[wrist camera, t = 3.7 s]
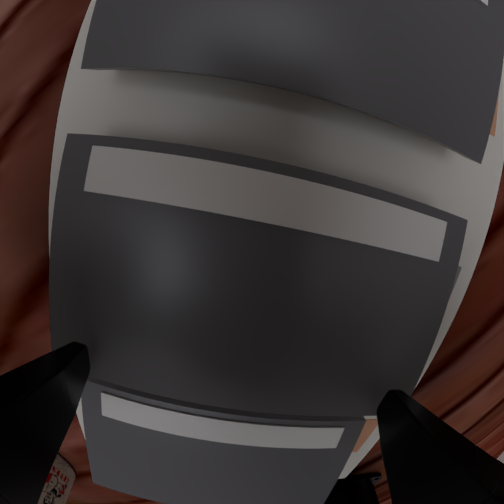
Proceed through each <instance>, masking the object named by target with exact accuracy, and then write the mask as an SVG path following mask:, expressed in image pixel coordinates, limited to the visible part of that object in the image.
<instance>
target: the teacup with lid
mask: <svg viewBox="0 0 504 504" xmlns="http://www.w3.org/2000/svg"><path fill="white" fill-rule="evenodd" d="M74 480H75V473H74V470H73V469H72V467H71V466H70V465H69V464H68V463H67V462H66V461H65V460H64V459H63V458H62V457H61V456H60V455H59V454H57V456H56V458H55V461H54V463H53V465H52V468H51V470H50V473H49V475H48V478H47V480H46V483H45V485H44V488H43V491H42V493H41V496H40V499H39V501H38V504H66V501H67V498H68V496H69V493H70V490H71V487H72V485H73V482H74Z"/></svg>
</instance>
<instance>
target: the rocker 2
mask: <svg viewBox="0 0 504 504" xmlns="http://www.w3.org/2000/svg"><path fill="white" fill-rule="evenodd" d="M467 222H468V220H466V219H464V218H461V217H459V216H456V215H454V214H451V213H448V212H446V211H443V210H440V209H438V208H435V207H432V206H429V205H427V204H424V203H421V202H418V201H415V200H412V199H409V198H406V197H403V196H400V195H397V194H394V193H391V192H388V191H385V190H382V189H378V188H375V187H372V186H368V185H365V184H362V183H358V182H355V181H351V180H348V179H344V178H341V177H337V176H333V175H329V174H326V173H322V172H318V171H314V170H310V169H306V168H302V167H298V166H293V165H289V164H285V163H280V162H276V161H271V160H267V159H262V158H257V157H252V156H247V155H242V154H237V153H232V152H226V151H220V150H215V149H209V148H203V147H196V146H190V145H183V144H176V143H169V142H161V141H153V140H145V139H136V138H126V137H116V136H104V135H90V134H72V133H67V137H66V142H65V146H64V151H63V155H62V160H61V165H60V171H59V176H58V182H57V189H56V196H55V203H54V211H53V220H52V230H51V243H50V262H49V313H50V332H51V344H52V351H54V350H56V349H58V348H60V347H62V346H64V345H66V344H69V343H71V342H73V341H76V342H79V343H82V344H85V345H86V346H87V347H88V353H89V360H90V373H89V376H91V377H94V378H97V379H100V380H103V381H107V382H110V383H113V384H117V385H120V386H124V387H127V388H131V389H135V390H138V391H142V392H146V393H150V394H154V395H159V396H163V397H167V398H172V399H177V400H182V401H187V402H192V403H197V404H203V405H209V406H215V407H221V408H228V409H236V410H243V411H252V412H261V413H272V414H285V415H302V416H377V415H376V412H377V407H378V406H379V404H380V402H381V401H382V399H383V398H384V396H385V395H386V393H387V392H388V391H389V390H392V389H400V390H402V391H404V392H405V393H406V394H408V395H409V396H410V397H411V395H412V393H413V391H414V389H415V387H416V385H417V382H418V380H419V378H420V376H421V374H422V371H423V369H424V367H425V364H426V362H427V359H428V357H429V355H430V352H431V350H432V347H433V344H434V342H435V339H436V337H437V334H438V331H439V328H440V325H441V323H442V320H443V317H444V314H445V311H446V307H447V304H448V301H449V298H450V294H451V291H452V288H453V284H454V280H455V277H456V273H457V269H458V265H459V261H460V256H461V252H462V247H463V243H464V238H465V233H466V227H467Z"/></svg>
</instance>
